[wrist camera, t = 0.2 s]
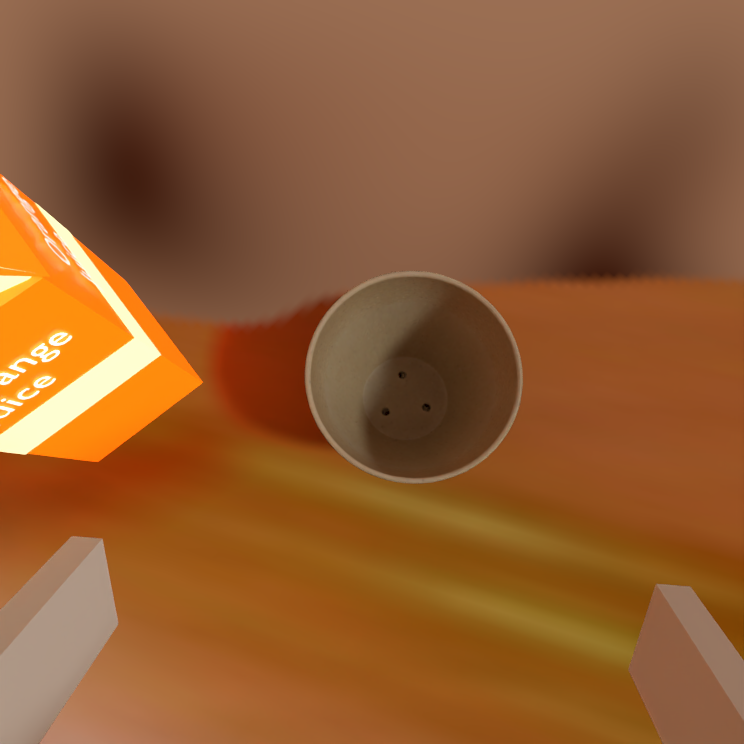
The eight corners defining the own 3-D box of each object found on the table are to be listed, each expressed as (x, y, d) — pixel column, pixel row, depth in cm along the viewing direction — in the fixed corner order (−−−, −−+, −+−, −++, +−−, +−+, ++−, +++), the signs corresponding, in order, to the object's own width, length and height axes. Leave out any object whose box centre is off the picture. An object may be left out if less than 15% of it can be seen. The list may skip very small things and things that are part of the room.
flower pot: (287, 405, 29) (259, 377, 22) (398, 291, 31) (405, 232, 24) (411, 523, 27) (423, 533, 20) (522, 395, 29) (568, 364, 22)
